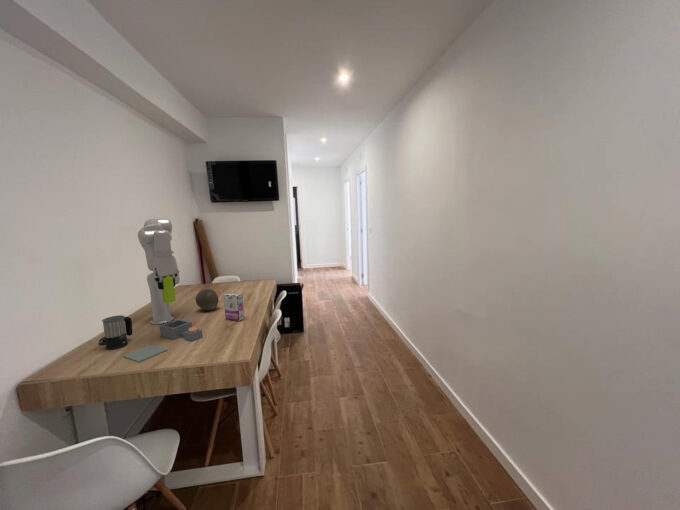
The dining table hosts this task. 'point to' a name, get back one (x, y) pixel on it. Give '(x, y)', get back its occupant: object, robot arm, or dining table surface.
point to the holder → (179, 330)
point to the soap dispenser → (168, 289)
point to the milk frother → (116, 331)
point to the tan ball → (192, 329)
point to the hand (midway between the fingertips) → (167, 287)
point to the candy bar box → (234, 306)
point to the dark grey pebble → (207, 299)
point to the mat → (145, 353)
